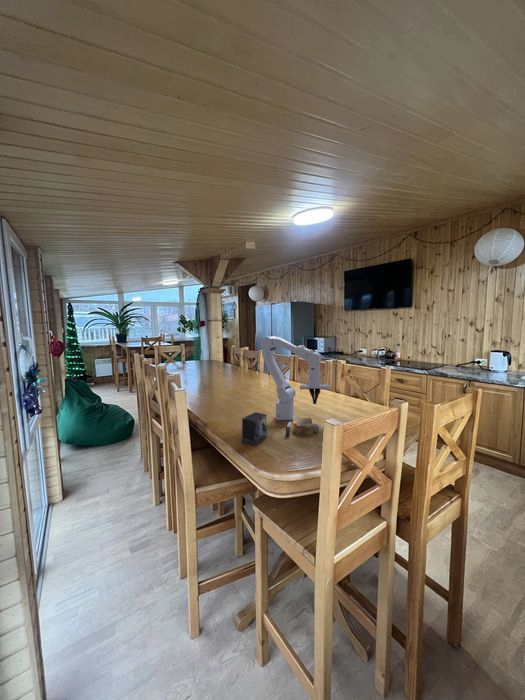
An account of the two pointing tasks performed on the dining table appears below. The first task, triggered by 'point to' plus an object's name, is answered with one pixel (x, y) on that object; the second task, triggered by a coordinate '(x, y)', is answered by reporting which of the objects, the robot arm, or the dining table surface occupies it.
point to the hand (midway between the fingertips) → (314, 403)
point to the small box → (254, 428)
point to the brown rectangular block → (315, 426)
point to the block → (304, 426)
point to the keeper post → (287, 431)
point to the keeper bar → (289, 424)
